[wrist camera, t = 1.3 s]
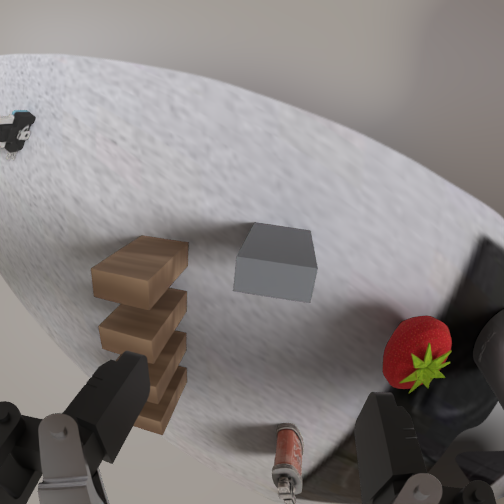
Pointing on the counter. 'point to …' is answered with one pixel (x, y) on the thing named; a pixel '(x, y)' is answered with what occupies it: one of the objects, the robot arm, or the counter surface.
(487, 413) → the counter surface
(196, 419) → the counter surface
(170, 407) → the walnut tile
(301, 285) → the charcoal tile
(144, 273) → the walnut tile
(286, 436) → the lighter
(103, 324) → the walnut tile
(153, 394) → the walnut tile
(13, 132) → the push button
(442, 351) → the strawberry
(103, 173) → the counter surface
